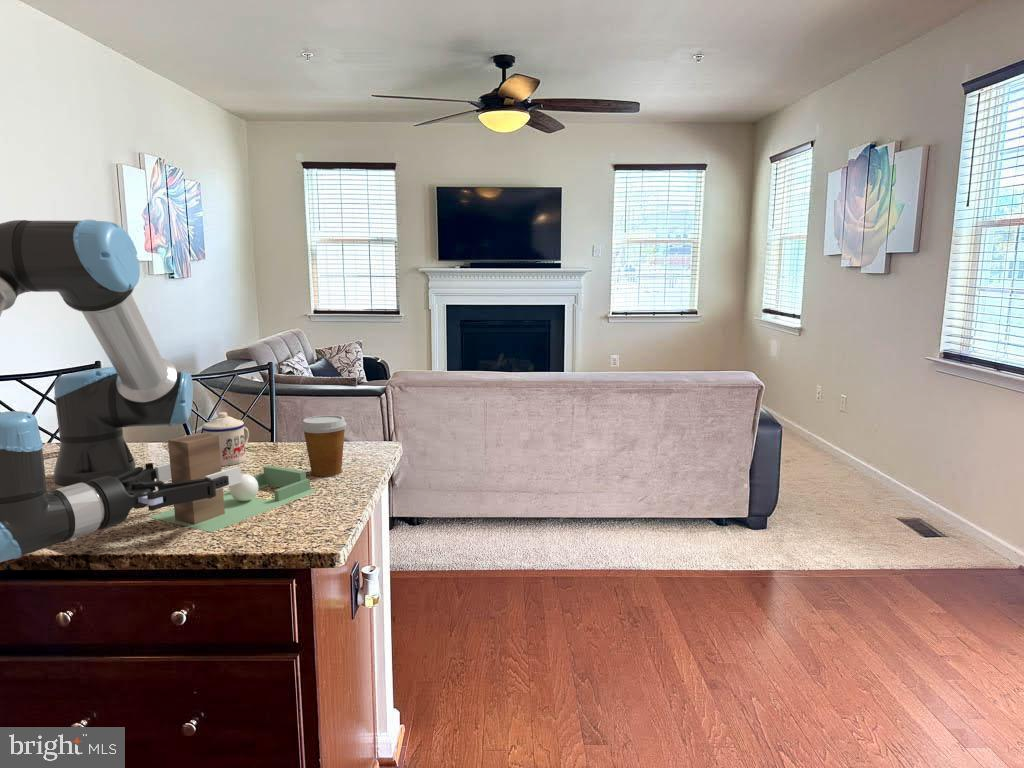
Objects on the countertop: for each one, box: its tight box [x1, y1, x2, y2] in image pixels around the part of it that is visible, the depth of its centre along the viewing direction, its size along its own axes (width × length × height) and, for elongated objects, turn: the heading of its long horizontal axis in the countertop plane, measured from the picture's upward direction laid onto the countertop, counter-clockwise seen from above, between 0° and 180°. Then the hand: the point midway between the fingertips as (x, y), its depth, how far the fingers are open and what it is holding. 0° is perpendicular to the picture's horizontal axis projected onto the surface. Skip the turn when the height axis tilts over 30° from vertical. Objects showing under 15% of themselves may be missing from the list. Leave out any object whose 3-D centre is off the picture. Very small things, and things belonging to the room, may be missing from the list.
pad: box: [149, 465, 318, 533], centre depth 124 cm, size 16×24×5 cm, turn 152°
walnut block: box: [167, 432, 225, 525], centre depth 116 cm, size 5×6×14 cm
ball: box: [228, 473, 259, 501], centre depth 125 cm, size 5×5×5 cm
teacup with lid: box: [201, 411, 250, 467], centre depth 159 cm, size 12×9×12 cm
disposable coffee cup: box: [300, 414, 347, 477], centre depth 147 cm, size 10×10×12 cm
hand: (214, 469), depth 119 cm, fingers open, 12 cm apart
